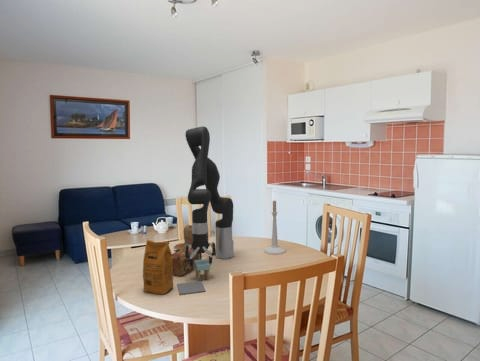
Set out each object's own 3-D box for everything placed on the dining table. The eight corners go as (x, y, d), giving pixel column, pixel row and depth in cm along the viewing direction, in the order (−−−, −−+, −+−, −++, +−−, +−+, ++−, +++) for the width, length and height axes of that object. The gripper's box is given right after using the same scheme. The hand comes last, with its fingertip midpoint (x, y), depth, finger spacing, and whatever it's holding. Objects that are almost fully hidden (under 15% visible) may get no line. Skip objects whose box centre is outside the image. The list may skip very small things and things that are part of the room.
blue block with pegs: (207, 273, 174) (206, 259, 173) (210, 279, 166) (209, 264, 165) (194, 275, 172) (194, 260, 171) (197, 281, 165) (196, 265, 164)
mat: (201, 282, 164) (201, 280, 163) (205, 291, 153) (205, 290, 153) (177, 285, 161) (176, 283, 161) (179, 295, 150) (179, 293, 150)
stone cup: (206, 249, 213) (205, 224, 212) (193, 255, 203) (192, 229, 202) (186, 245, 221) (185, 222, 220) (173, 251, 211) (172, 226, 210)
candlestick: (280, 255, 199) (279, 202, 195) (259, 252, 205) (259, 201, 202) (289, 249, 210) (289, 199, 206) (269, 246, 216) (269, 197, 213)
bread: (181, 277, 170) (181, 257, 169) (163, 274, 175) (163, 254, 174) (203, 265, 187) (202, 246, 186) (186, 262, 191) (185, 244, 190)
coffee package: (153, 283, 163) (151, 236, 161) (176, 287, 158) (174, 238, 156) (139, 292, 154) (137, 242, 152) (163, 296, 149) (161, 245, 147)
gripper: (213, 228, 172) (214, 261, 174) (183, 230, 169) (184, 264, 170) (216, 232, 165) (217, 266, 167) (185, 234, 161) (186, 269, 163)
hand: (200, 265), depth 168 cm, fingers open, 8 cm apart
